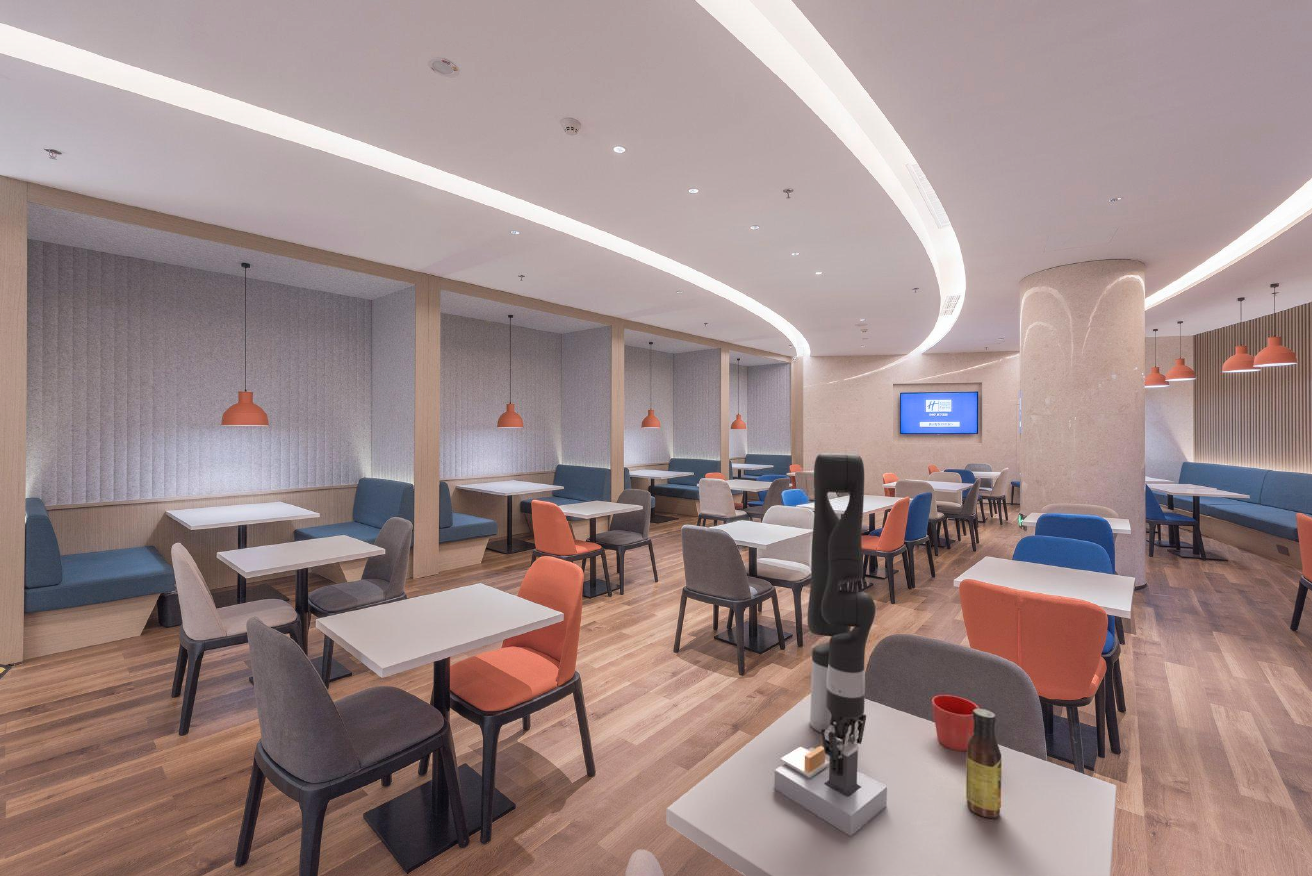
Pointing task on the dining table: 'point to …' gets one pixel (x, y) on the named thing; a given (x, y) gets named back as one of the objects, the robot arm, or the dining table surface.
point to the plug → (846, 768)
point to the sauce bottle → (983, 766)
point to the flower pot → (953, 720)
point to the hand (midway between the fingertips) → (843, 769)
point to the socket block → (833, 796)
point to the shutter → (806, 760)
